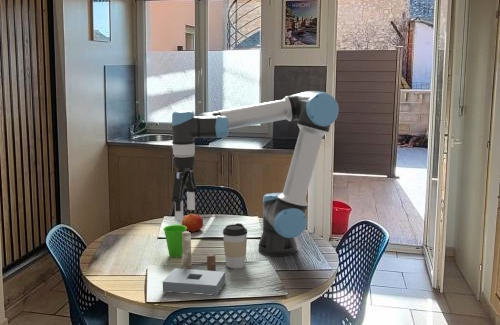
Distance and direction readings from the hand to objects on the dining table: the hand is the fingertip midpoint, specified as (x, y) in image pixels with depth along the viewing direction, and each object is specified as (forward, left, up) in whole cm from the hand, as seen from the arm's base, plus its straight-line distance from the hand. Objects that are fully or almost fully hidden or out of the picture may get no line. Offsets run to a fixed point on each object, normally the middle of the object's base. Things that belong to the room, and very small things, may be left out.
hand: (185, 214), depth 193 cm
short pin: (-9, 0, -21) cm, 23 cm away
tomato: (+12, -46, -21) cm, 52 cm away
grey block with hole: (-7, +14, -21) cm, 26 cm away
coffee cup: (-16, -8, -21) cm, 28 cm away
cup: (+9, -14, -21) cm, 27 cm away
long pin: (0, 0, -21) cm, 21 cm away
